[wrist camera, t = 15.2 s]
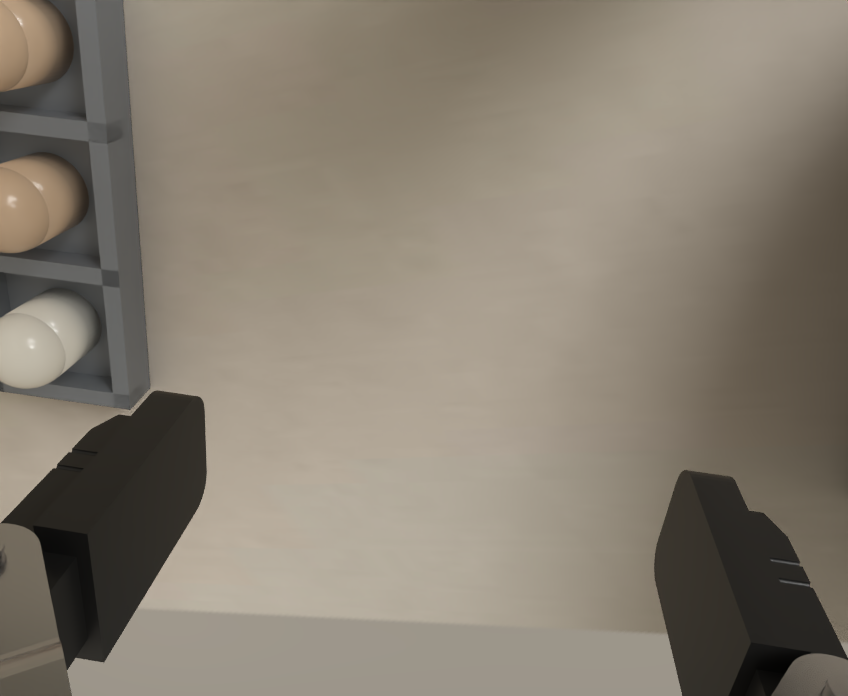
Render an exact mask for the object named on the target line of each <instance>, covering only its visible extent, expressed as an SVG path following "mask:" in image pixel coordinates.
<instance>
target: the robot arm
mask: <svg viewBox="0 0 848 696" xmlns="http://www.w3.org/2000/svg"><path fill="white" fill-rule="evenodd" d="M206 474H207V468H206V440H205V411H204V403H203V401H202V399H201V398H200V397H198V396H191V395H184V394H177V393H171V392H164V391H154V392H152V393H151V394H150V395H149V396H148V398H147V399H146V400H145V401H144V402H143V403H142V404H141V405H140V406H139V408H138V409H137V410H136V411H135V412H134V413H133V414H132V415H131V416H125V415H117V416H115V417H113V418H111V419H109V420H108V421H106V422H104V423H102V424H100V425H98V426H96V427H94V428H92V429H91V430H90V431H89V432H88V433H87V434H86V435H85V436H84V437H83V438H82V439H81V440H80V441H79V442H78V443H77V444H76V445H75V446H74V447H73V448H72V453H70V452H69V453H68V454H67V455H66V456H65V457H64V458H63V459H62V460H61V461H60V462H59V463H58V464H57V468H56V469H55V468H53V469H52V470H51V471H50V472H49V473H48V474H47V475H46V477H45V478H44V479H43V480H42V481H41V482H40V483H39V484H38V485H37V486H36V487H35V488H34V489H33V490H32V491H31V492H30V493H29V494H28V495H27V496H26V497H25V498H24V499H23V500H22V501H21V503H20V504H19V505H18V506H17V507H16V508H15V509H14V510H13V511H12V512H11V513H10V514H9V515H8V516H7V517H6V518H5V519H4V520H3V521H2V522H1V523H0V696H72V693H71V689H70V683H69V678H68V673H67V670H68V668H69V667H70V665H71V664H72V662H73V661H74V659H75V658H82V659H88V660H93V661H99V662H104V661H105V660H106V658H107V656H108V655H109V653H110V652H111V650H112V648H113V647H114V645H115V643H116V642H117V640H118V639H119V637H120V635H121V634H122V632H123V630H124V629H125V627H126V625H127V624H128V622H129V620H130V619H131V617H132V616H133V614H134V612H135V611H136V609H137V607H138V606H139V604H140V602H141V601H142V599H143V597H144V596H145V594H146V593H147V591H148V589H149V588H150V586H151V584H152V583H153V581H154V579H155V578H156V576H157V575H158V573H159V571H160V570H161V568H162V566H163V565H164V563H165V561H166V560H167V558H168V556H169V555H170V553H171V552H172V550H173V548H174V547H175V545H176V543H177V542H178V540H179V538H180V537H181V535H182V533H183V532H184V530H185V529H186V527H187V525H188V524H189V522H190V520H191V519H192V517H193V515H194V514H195V512H196V511H197V509H198V507H199V505H200V502H201V499H202V496H203V493H204V489H205V484H206ZM799 563H800V561H799V559H798V557H797V555H796V553H795V551H794V549H793V547H792V545H791V543H790V541H789V539H788V537H787V536H786V535H785V534H784V533H783V532H782V531H781V530H780V529H779V528H778V527H777V526H776V525H775V524H774V523H773V522H772V521H771V520H770V519H769V518H768V517H767V516H766V515H765V514H764V513H760V512H754V511H748V508H747V506H746V504H745V502H744V500H743V497H742V495H741V493H740V491H739V488H738V486H737V484H736V482H735V480H734V479H733V478H732V477H728V476H722V475H715V474H708V473H701V472H695V471H688V470H684V471H683V472H682V473H681V474H680V475H679V477H678V480H677V482H676V485H675V489H674V492H673V495H672V498H671V501H670V504H669V508H668V511H667V514H666V517H665V520H664V523H663V527H662V530H661V533H660V536H659V539H658V543H657V547H656V553H655V563H654V572H655V581H656V586H657V590H658V595H659V599H660V603H661V607H662V611H663V616H664V620H665V624H666V628H667V632H668V637H669V641H670V645H671V649H672V653H673V658H674V662H675V666H676V670H677V675H678V679H679V683H680V687H681V691H682V696H848V658H847V656H846V654H845V652H844V650H843V648H842V646H841V643H840V641H839V639H838V637H837V635H836V633H835V631H834V629H833V627H832V625H831V623H830V621H829V619H828V617H827V615H826V613H825V611H824V609H823V607H822V605H821V603H820V601H819V599H818V597H817V595H816V593H815V591H814V589H813V588H810V581H809V579H808V577H807V575H806V573H805V571H804V569H803V567H800V566H799Z"/></svg>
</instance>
